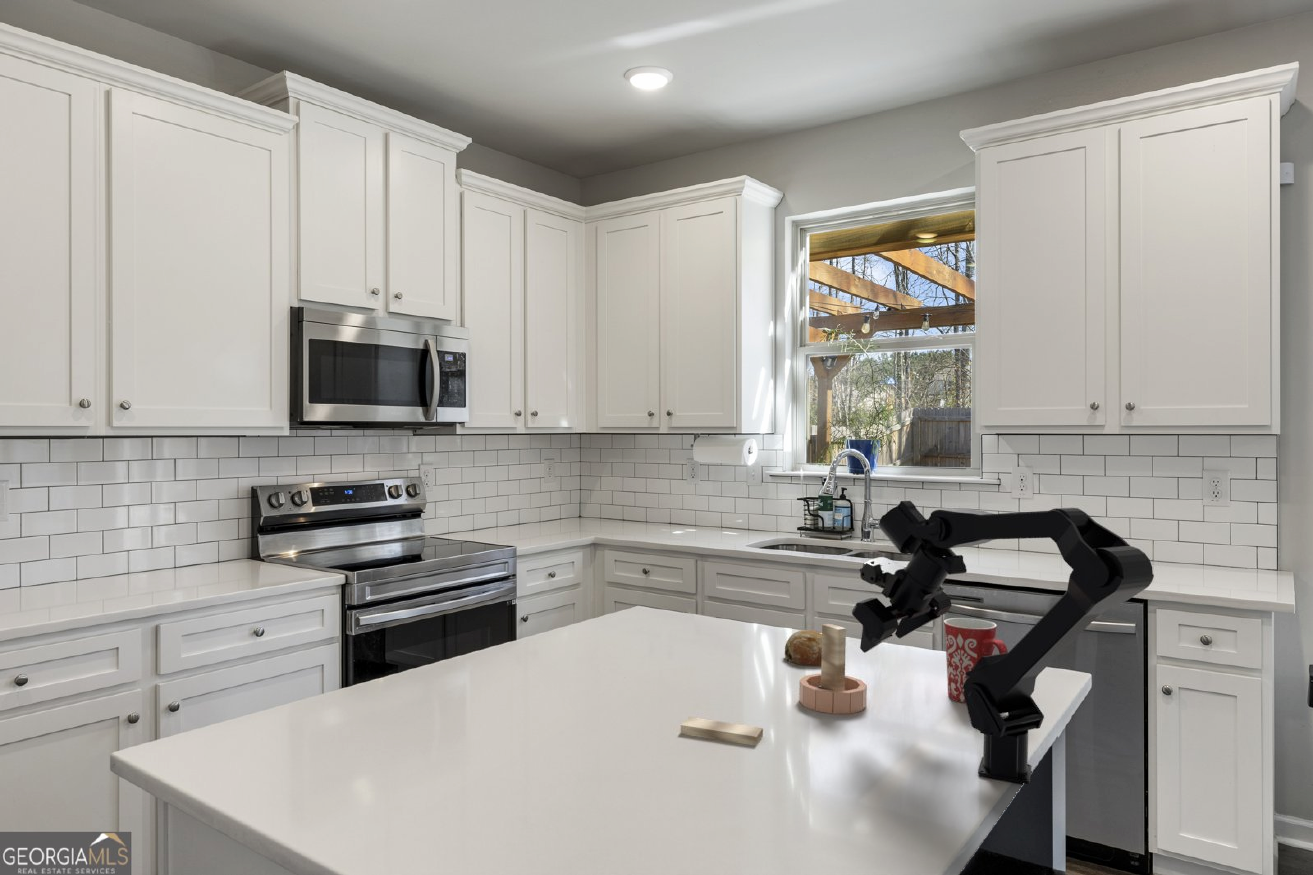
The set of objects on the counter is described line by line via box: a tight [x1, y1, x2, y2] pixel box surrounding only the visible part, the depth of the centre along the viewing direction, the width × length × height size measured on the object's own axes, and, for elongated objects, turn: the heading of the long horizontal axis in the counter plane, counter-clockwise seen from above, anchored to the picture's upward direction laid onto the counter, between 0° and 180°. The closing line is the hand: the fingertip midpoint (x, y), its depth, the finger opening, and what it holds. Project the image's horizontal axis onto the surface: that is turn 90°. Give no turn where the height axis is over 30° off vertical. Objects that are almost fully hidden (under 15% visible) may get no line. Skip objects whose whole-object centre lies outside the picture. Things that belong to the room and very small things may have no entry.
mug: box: [943, 617, 1009, 704], centre depth 149 cm, size 13×9×14 cm
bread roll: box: [784, 629, 822, 667], centre depth 174 cm, size 10×10×8 cm
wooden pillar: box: [818, 623, 847, 691], centre depth 146 cm, size 5×5×13 cm
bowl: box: [798, 673, 868, 715], centre depth 146 cm, size 11×11×4 cm
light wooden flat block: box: [680, 716, 764, 746], centre depth 129 cm, size 12×4×2 cm, turn 69°
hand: (880, 643), depth 138 cm, fingers open, 9 cm apart
